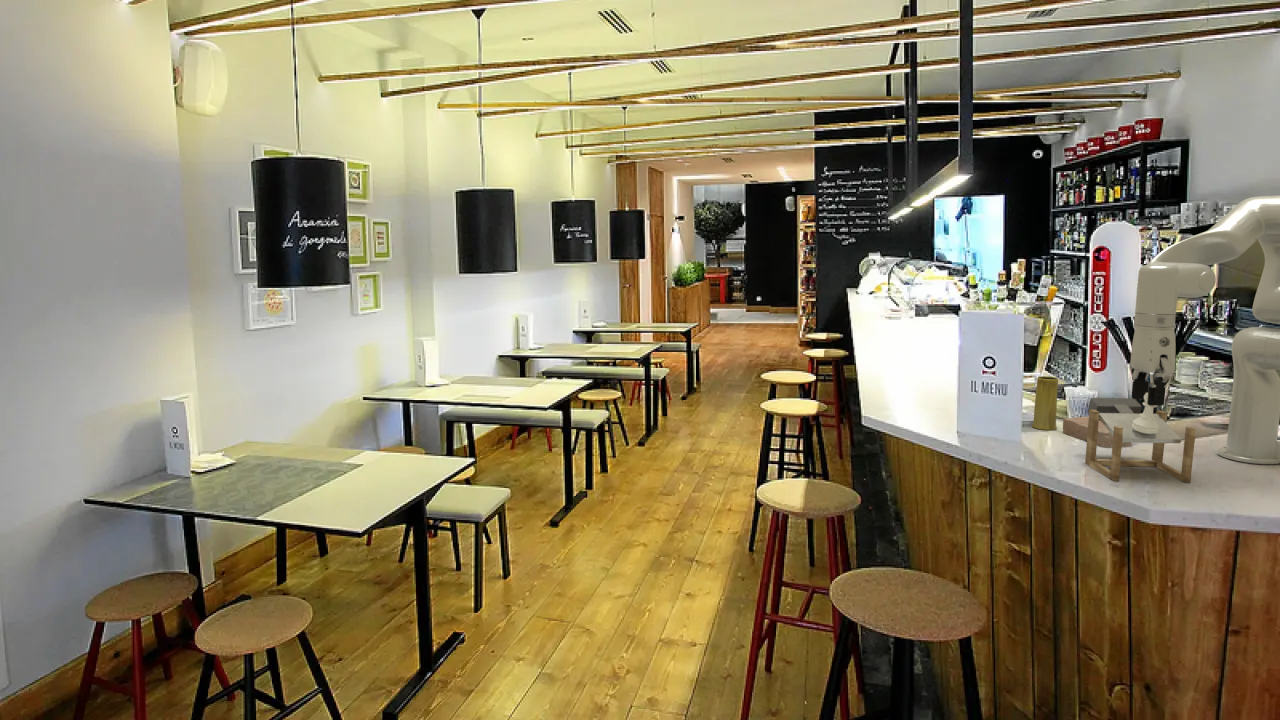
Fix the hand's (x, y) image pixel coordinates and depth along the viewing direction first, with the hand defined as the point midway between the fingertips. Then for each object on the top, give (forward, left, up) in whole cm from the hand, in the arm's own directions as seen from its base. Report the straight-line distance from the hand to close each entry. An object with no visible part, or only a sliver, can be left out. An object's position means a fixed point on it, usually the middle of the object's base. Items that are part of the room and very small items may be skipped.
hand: (1147, 401), depth 178 cm
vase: (+4, -45, -17) cm, 48 cm away
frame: (0, -2, -17) cm, 17 cm away
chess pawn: (0, 0, -7) cm, 7 cm away
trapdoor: (0, -8, -9) cm, 12 cm away
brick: (-5, -33, -18) cm, 38 cm away
